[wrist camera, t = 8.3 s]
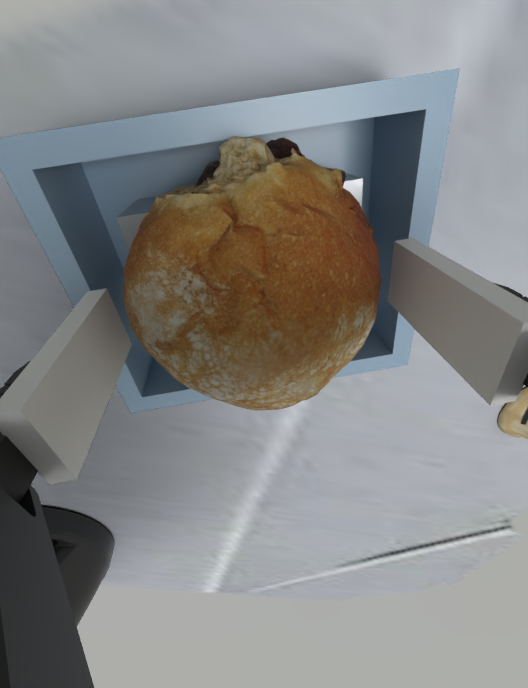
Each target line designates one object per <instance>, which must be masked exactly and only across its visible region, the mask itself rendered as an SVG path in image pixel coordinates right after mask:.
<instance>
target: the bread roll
mask: <svg viewBox="0 0 528 688" xmlns="http://www.w3.org/2000/svg"><path fill="white" fill-rule="evenodd" d="M218 150H219V161H217V160H215V161H212V162H210V163H209V164H208V165H207V166H206V167H205V169H204V171H203V172H202V174H201V176H200V177H199V179H198V181H197V183H195V184H194V185H191V186H180V187H178V188H176V189H174V190H173V191H171V192H166V193H165V194H164V195H157V196H156V198H155V201H154V203H153V205H152V209H151V211H150V212H147V213H146V214H145V217H144V219H143V221H142V222H141V224H140V226H139V229H138V233H137V234H136V236H135V238H134V240H133V242H132V245H131V247H130V250H129V253H128V256H127V261H126V265H125V268H124V278H125V282H124V287H123V299H124V305H125V309H126V313H127V316H128V319H129V324H130V327H131V328H132V330H133V331H134V333H135V335H136V336H137V338H138V339H139V341H140V342H141V344H142V346H143V347H144V348H145V349H146V351H147V352H148V353H149V354H150V355H151V356H152V357H153V358H154V359H155V360H156V361H157V362H158V363H159V364H161V365H162V366H163V367H164V368H165V369H166V370H167V372H168V373H169V374H170V375H171V376H172V377H174V378H175V379H176V380H177V381H178V382H180V383H182V384H183V385H185V386H187V387H188V388H190V389H193V390H195V391H197V392H199V393H201V394H203V395H205V396H207V397H210V398H213V399H216V400H219V401H223V402H226V403H229V404H232V405H234V406H238V407H242V408H246V409H251V410H274V409H283V408H287V407H290V406H293V405H295V404H297V403H299V402H300V401H303V400H307V399H309V398H311V397H313V396H315V395H317V394H318V392H319V391H320V390H321V389H322V388H323V387H324V386H325V385H326V384H327V383H328V382H329V381H330V380H331V379H332V378H333V377H334V376H335V375H336V374H338V373H339V372H340V370H341V369H342V368H344V367H345V366H346V365H347V364H348V363H349V362H350V361H351V360H352V359H353V358H354V356H355V355H356V354H357V353H358V351H359V350H360V349H361V347H362V346H363V345H364V343H365V340H366V338H367V337H368V335H369V332H370V330H371V328H372V326H373V325H374V323H375V319H376V314H377V305H378V301H379V291H380V286H381V276H380V267H379V253H378V248H377V244H376V241H375V238H373V231H374V230H375V229H374V228H373V227H372V226H371V225H370V224H369V222H368V220H367V218H366V216H365V214H364V212H363V210H362V208H361V206H360V203H359V202H358V201H357V199H355V198H354V196H353V195H352V194H351V192H349V191H347V190H346V189H344V188H343V185H344V182H345V178H346V175H345V171H343V170H340V169H336V168H335V169H331V168H325V167H321V166H319V165H317V164H316V163H314V162H313V161H312V160H309V159H307V158H305V155H303V154H301V152H300V149H299V147H298V145H297V144H296V143H294V142H292V141H291V140H289V139H286V138H284V137H282V138H278V139H276V140H270V141H269V142H267V143H266V142H265V141H264V140H262V139H261V138H259V137H255V138H245V137H238V136H233V137H231V138H230V139H229V140H228V141H226V142H224V143H222V144H221V145H220V147H219V148H218ZM231 199H232V200H231ZM230 201H231V202H230ZM229 202H230V203H229Z"/></svg>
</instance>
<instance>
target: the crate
mask: <svg viewBox="0 0 528 688" xmlns="http://www.w3.org/2000/svg"><path fill="white" fill-rule="evenodd" d="M459 71H460V68H459V69H452V70H445V71H439V72H432V73H425V74H419V75H412V76H406V77H399V78H392V79H386V80H379V81H372V82H366V83H359V84H352V85H346V86H339V87H332V88H326V89H319V90H313V91H306V92H299V93H293V94H286V95H279V96H273V97H266V98H259V99H253V100H246V101H240V102H233V103H226V104H220V105H213V106H206V107H200V108H193V109H186V110H180V111H173V112H166V113H160V114H153V115H147V116H140V117H133V118H127V119H120V120H113V121H107V122H100V123H93V124H87V125H80V126H74V127H67V128H60V129H54V130H47V131H40V132H34V133H27V134H20V135H14V136H7V137H0V170H1V172H2V173H3V175H4V177H5V179H6V181H7V183H8V185H9V187H10V188H11V190H12V192H13V194H14V196H15V198H16V200H17V202H18V203H19V205H20V207H21V209H22V211H23V213H24V215H25V217H26V218H27V220H28V222H29V224H30V226H31V228H32V230H33V232H34V233H35V235H36V237H37V239H38V241H39V243H40V245H41V247H42V248H43V250H44V252H45V254H46V256H47V258H48V260H49V262H50V263H51V265H52V267H53V269H54V271H55V273H56V275H57V277H58V278H59V280H60V282H61V284H62V286H63V288H64V290H65V292H66V293H67V295H68V297H69V299H70V301H71V303H72V305H73V307H75V306H76V305H77V304H78V303H79V301H80V300H81V299H82V298H83V296H84V295H85V294H86V293H87V291H93V290H99V289H105V288H107V290H108V292H109V294H110V297H111V299H112V301H113V303H114V305H115V308H116V310H117V312H118V314H119V317H120V319H121V321H122V323H123V326H124V328H125V330H126V332H127V334H128V337H129V339H130V341H131V343H132V346H131V348H130V350H129V353H128V355H127V358H126V360H125V363H124V365H123V368H122V370H121V373H120V375H119V377H118V380H117V382H116V387H117V389H118V391H119V393H120V395H121V397H122V398H123V400H124V402H125V404H126V406H127V408H128V410H129V412H130V413H135V412H141V411H146V410H152V409H158V408H163V407H169V406H175V405H181V404H186V403H192V402H198V401H204V400H209V399H213V398H210V397H207V396H205V395H203V394H201V393H199V392H197V391H195V390H193V389H190V388H188V387H187V386H185V385H183V384H182V383H180V382H178V381H177V380H176V379H175V378H174V377H172V376H171V375H170V374H169V373H168V372H167V370H166V369H165V368H164V367H163V366H162V365H161V364H159V363H158V362H157V361H156V360H155V359H154V358H153V357H152V356H151V355H150V354H149V353H148V352H147V351H146V349H145V348H144V347H143V346H142V344H141V342H140V341H139V339H138V338H137V336H136V335H135V333H134V331H133V330H132V328H131V327H130V324H129V319H128V316H127V313H126V309H125V305H124V299H123V287H124V282H125V278H124V268H125V265H126V261H127V256H128V253H129V250H128V247H127V244H126V242H125V239H124V236H123V234H122V231H121V228H120V226H119V223H118V220H117V218H116V217H118V216H119V215H120V214H121V213H122V212H123V211H125V210H126V209H127V208H128V207H129V206H131V205H132V204H133V203H134V202H135V201H136V200H138V199H143V198H149V197H155V196H157V195H164V194H165V193H166V192H171V191H173V190H174V189H176V188H178V187H180V186H191V185H194V184H195V183H197V181H198V179H199V177H200V176H201V174H202V172H203V171H204V169H205V167H206V166H207V165H208V164H209V163H210V162H212V161H215V160H217V161H219V150H218V148H219V147H220V145H221V144H222V143H224V142H226V141H228V140H229V139H230V138H231V137H233V136H238V137H245V138H255V137H259V138H261V139H262V140H264V141H265V142H266V143H267V142H269V141H270V140H276V139H278V138H282V137H284V138H286V139H289V140H291V141H292V142H294V143H296V144H297V145H298V147H299V149H300V152H301V154H303V155H305V158H307V159H309V160H312V161H313V162H314V163H316V164H317V165H319V166H321V167H325V168H331V169H333V168H334V169H335V168H336V169H340V170H343V171H345V173H348V174H351V175H354V176H357V177H360V178H363V190H362V210H363V212H364V214H365V216H366V218H367V220H368V222H369V224H370V225H371V226H372V227H373V228H374V229H375V230H374V231H373V238H375V241H376V244H377V248H378V253H379V267H380V276H381V286H380V291H379V301H378V305H377V314H376V319H375V323H374V325H373V326H372V328H371V330H370V332H369V335H368V337H367V338H366V340H365V343H364V345H363V346H362V347H361V349H360V350H359V351H358V353H357V354H356V355H355V356H354V358H353V359H352V360H351V361H350V362H349V363H348V364H347V365H346V366H345V367H344V368H342V369H341V370H340V372H339V373H338V374H336V375H335V376H334V377H333V378H336V377H341V376H347V375H353V374H358V373H364V372H370V371H376V370H381V369H387V368H393V367H399V366H404V365H408V360H409V355H410V349H411V343H412V338H413V332H414V328H413V327H412V326H411V325H410V323H409V322H408V321H407V320H406V319H405V318H404V317H403V316H402V315H401V314H400V313H399V312H398V311H397V310H396V309H395V308H394V307H393V306H392V305H391V304H390V303H389V302H388V293H389V285H390V276H391V267H392V258H393V249H394V241H398V240H404V239H410V238H414V239H415V240H417V241H419V242H421V243H422V244H424V245H426V246H428V247H429V241H430V235H431V230H432V224H433V218H434V213H435V207H436V201H437V196H438V190H439V184H440V179H441V173H442V167H443V162H444V156H445V150H446V145H447V139H448V133H449V128H450V122H451V116H452V111H453V105H454V99H455V94H456V88H457V82H458V77H459Z"/></svg>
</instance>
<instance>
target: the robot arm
mask: <svg viewBox="0 0 528 688" xmlns="http://www.w3.org/2000/svg"><path fill="white" fill-rule="evenodd" d="M388 302H389V303H390V304H391V305H392V306H393V307H394V308H395V309H396V310H397V311H398V312H399V313H400V314H401V315H402V316H403V317H404V318H405V319H406V320H407V321H408V322H409V323H410V325H411V326H412V327H413V328H414V329H415V330H416V331H417V332H418V333H419V334H420V335H421V336H422V337H423V338H424V339H425V340H426V341H427V342H428V343H429V344H430V345H431V346H432V347H433V348H434V349H435V350H436V351H437V352H438V353H439V354H440V355H441V356H442V357H443V358H444V359H445V360H446V361H447V362H448V363H449V364H450V365H451V366H452V367H453V368H454V369H455V370H456V371H457V372H458V373H459V374H460V375H461V376H462V377H463V378H464V379H465V380H466V382H467V383H468V384H469V385H470V386H471V387H472V388H473V389H474V390H475V391H476V392H477V393H478V394H479V395H480V396H481V397H482V398H483V399H484V400H485V401H486V402H487V403H488V404H489V405H490V406H491V405H496V404H502V403H507V402H513V401H516V400H517V398H518V396H519V394H520V392H521V390H522V387H523V385H525V386H527V387H528V298H527V297H522V295H521V294H520V293H518V292H516V291H514V290H512V289H510V288H508V287H505V286H502V285H499V284H495V283H492V282H490V281H489V280H487V279H485V278H483V277H481V276H480V275H478V274H476V273H474V272H473V271H471V270H469V269H467V268H465V267H464V266H462V265H460V264H458V263H456V262H455V261H453V260H451V259H449V258H447V257H446V256H444V255H442V254H440V253H439V252H437V251H435V250H433V249H431V248H430V247H428V246H426V245H424V244H422V243H421V242H419V241H417V240H415V239H414V238H410V239H404V240H398V241H394V249H393V258H392V267H391V276H390V285H389V293H388ZM131 346H132V343H131V341H130V339H129V337H128V334H127V332H126V330H125V328H124V326H123V323H122V321H121V319H120V317H119V314H118V312H117V310H116V308H115V305H114V303H113V301H112V299H111V297H110V294H109V292H108V290H107V288H105V289H99V290H93V291H87V293H86V294H85V295H84V296H83V298H82V299H81V300H80V301H79V303H78V304H77V305H76V306H75V307H74V309H73V310H72V311H71V312H70V314H69V315H68V316H67V317H66V318H65V320H64V321H63V322H62V323H61V325H60V326H59V327H58V328H57V329H56V331H55V332H54V333H53V334H52V336H51V337H50V338H49V339H48V341H47V342H46V343H45V344H44V345H43V347H42V348H41V349H40V350H39V352H38V353H37V354H36V355H35V356H34V358H33V359H32V360H31V361H29V362H28V363H27V364H25V365H24V366H23V367H21V368H20V369H19V370H17V371H16V372H14V374H13V375H12V376H11V377H10V378H9V380H8V381H7V382H6V383H5V384H4V385H5V386H4V387H2V388H1V389H0V688H94V685H93V682H92V678H91V675H90V672H89V668H88V665H87V661H86V658H85V654H84V651H83V647H82V644H81V641H80V637H79V634H78V630H77V625H78V623H79V622H80V620H81V618H82V616H83V615H84V613H85V611H86V609H87V608H88V606H89V604H90V602H91V600H92V598H93V597H94V595H95V593H96V591H97V589H98V587H99V585H100V583H101V581H102V580H103V578H104V577H105V575H106V573H107V571H108V568H109V565H110V561H111V557H112V553H113V549H114V539H113V537H112V535H111V534H110V532H109V531H108V530H107V529H106V528H104V527H103V526H102V525H100V524H99V523H97V522H95V521H94V520H92V519H89V518H87V517H85V516H82V515H79V514H76V513H73V512H69V511H65V510H60V509H54V508H47V507H42V506H41V503H40V500H39V496H38V493H37V492H36V491H35V489H34V488H33V487H32V486H31V483H32V481H33V479H34V477H35V476H36V474H37V472H38V473H39V474H40V475H41V477H42V478H43V479H44V480H45V481H46V482H47V483H48V484H49V485H50V484H55V483H61V482H67V481H72V480H77V478H78V476H79V473H80V471H81V468H82V466H83V463H84V461H85V459H86V456H87V454H88V451H89V449H90V446H91V444H92V441H93V439H94V436H95V434H96V432H97V429H98V427H99V424H100V422H101V419H102V417H103V414H104V412H105V409H106V407H107V405H108V402H109V400H110V397H111V395H112V392H113V390H114V387H115V385H116V382H117V380H118V377H119V375H120V373H121V370H122V368H123V365H124V363H125V360H126V358H127V355H128V353H129V350H130V348H131ZM527 421H528V407H527V409H526V411H525V413H524V415H523V417H522V419H521V423H520V424H524V425H526V423H527Z"/></svg>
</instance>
